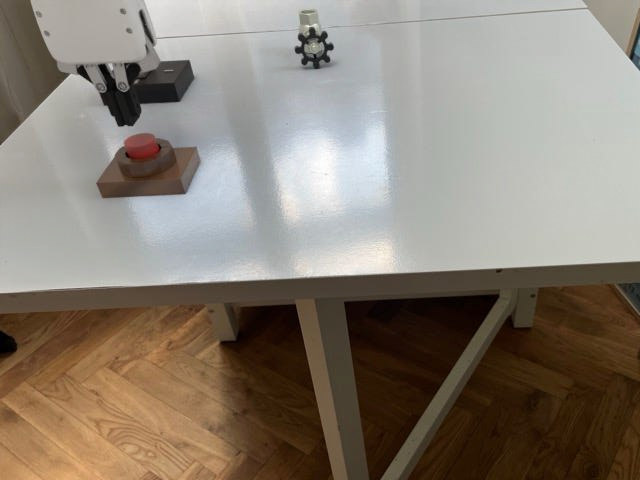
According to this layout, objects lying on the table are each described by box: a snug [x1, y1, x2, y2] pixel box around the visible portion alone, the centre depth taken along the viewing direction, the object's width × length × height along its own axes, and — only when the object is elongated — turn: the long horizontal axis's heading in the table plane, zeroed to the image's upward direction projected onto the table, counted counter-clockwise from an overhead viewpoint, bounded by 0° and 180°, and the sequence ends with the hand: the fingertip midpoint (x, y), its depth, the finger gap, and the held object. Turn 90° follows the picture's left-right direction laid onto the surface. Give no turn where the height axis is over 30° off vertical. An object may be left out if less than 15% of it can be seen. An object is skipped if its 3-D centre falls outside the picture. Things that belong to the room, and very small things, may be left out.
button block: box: [95, 137, 202, 199], centre depth 68 cm, size 10×8×4 cm
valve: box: [294, 8, 335, 70], centre depth 97 cm, size 7×7×12 cm
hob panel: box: [98, 59, 195, 106], centre depth 90 cm, size 12×10×3 cm
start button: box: [123, 132, 160, 159], centre depth 66 cm, size 4×4×2 cm
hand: (129, 121), depth 64 cm, fingers closed
